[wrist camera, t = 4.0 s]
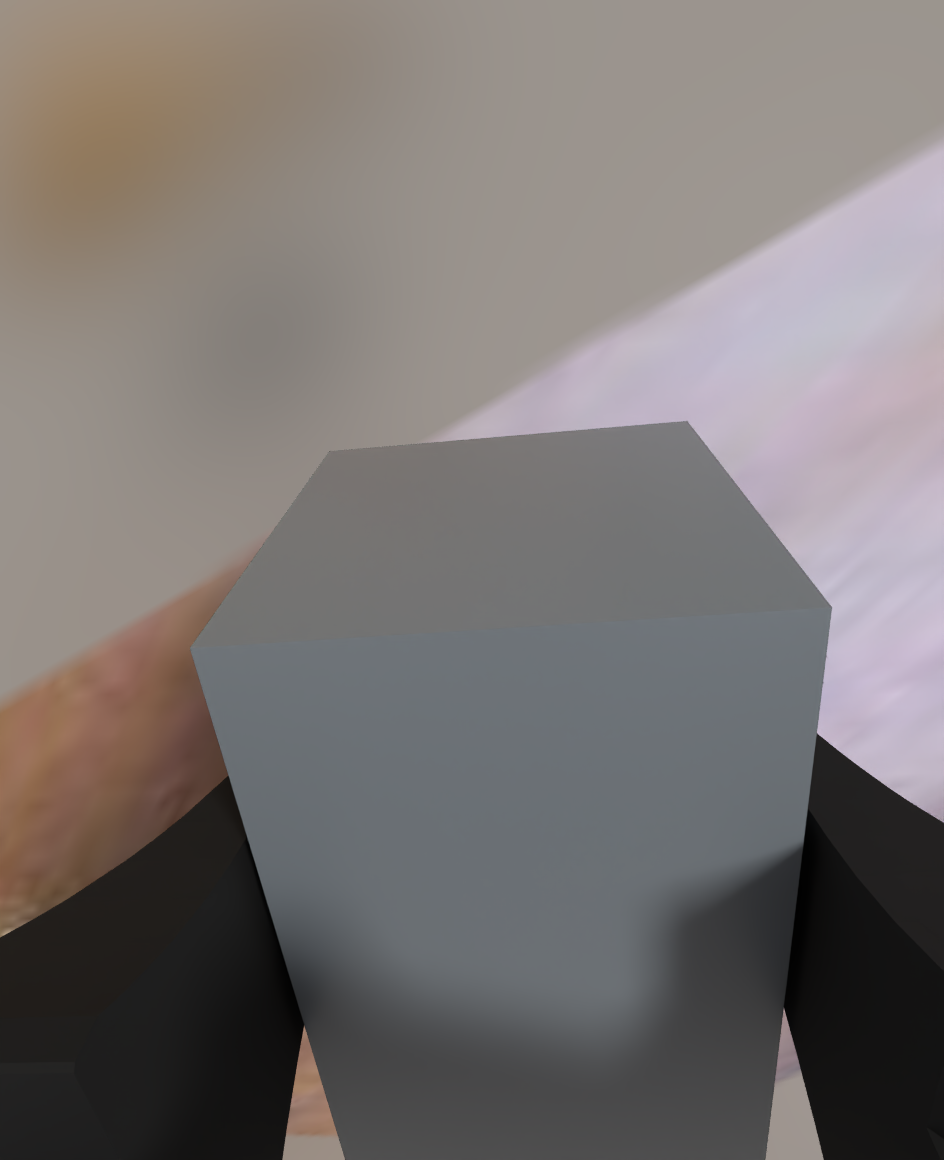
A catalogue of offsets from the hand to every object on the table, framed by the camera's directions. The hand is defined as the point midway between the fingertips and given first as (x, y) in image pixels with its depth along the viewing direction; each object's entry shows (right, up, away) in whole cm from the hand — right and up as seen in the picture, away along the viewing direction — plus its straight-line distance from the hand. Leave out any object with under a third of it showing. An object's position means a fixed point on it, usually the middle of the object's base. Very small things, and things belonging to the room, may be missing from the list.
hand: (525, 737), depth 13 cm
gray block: (0, +1, +2) cm, 2 cm away
